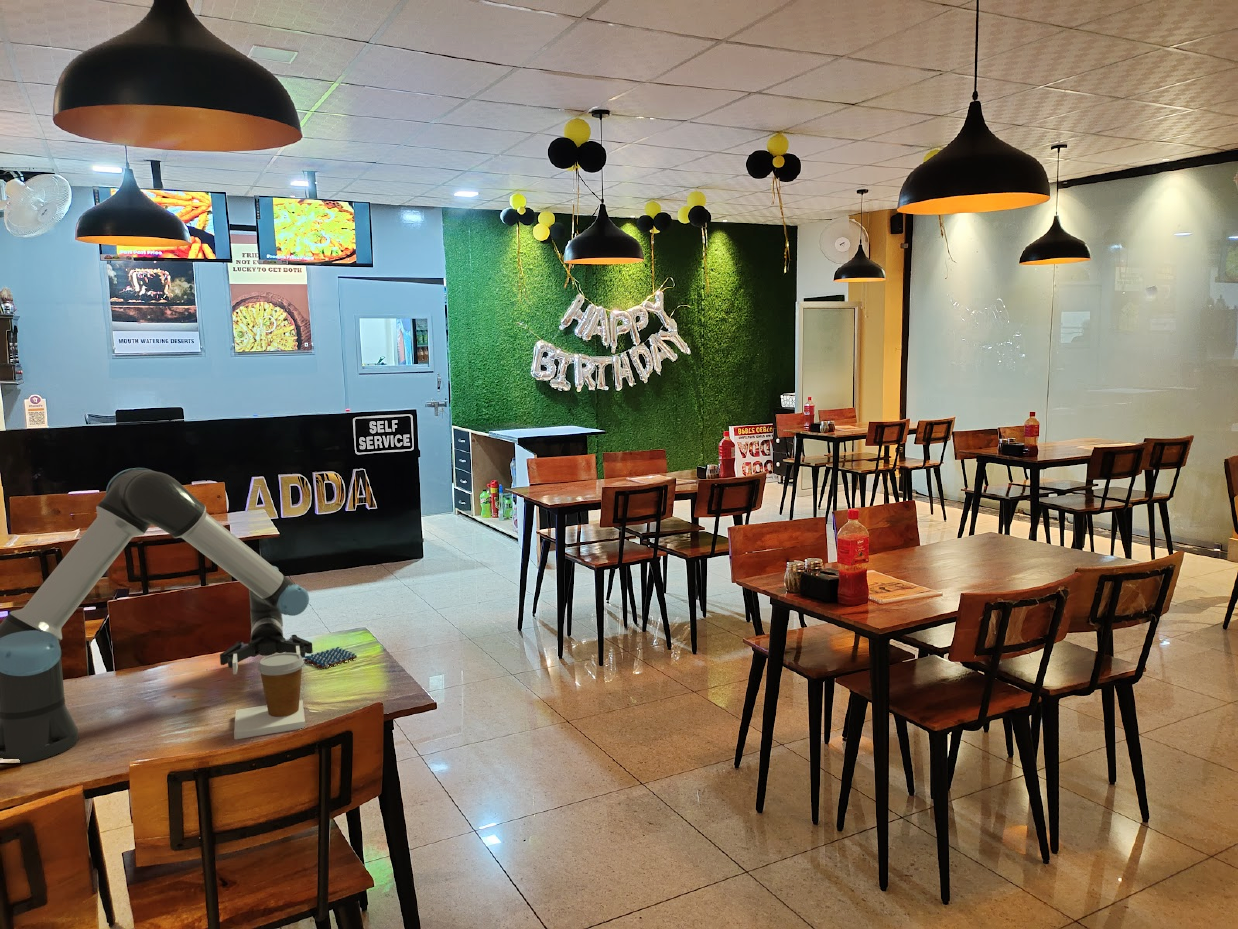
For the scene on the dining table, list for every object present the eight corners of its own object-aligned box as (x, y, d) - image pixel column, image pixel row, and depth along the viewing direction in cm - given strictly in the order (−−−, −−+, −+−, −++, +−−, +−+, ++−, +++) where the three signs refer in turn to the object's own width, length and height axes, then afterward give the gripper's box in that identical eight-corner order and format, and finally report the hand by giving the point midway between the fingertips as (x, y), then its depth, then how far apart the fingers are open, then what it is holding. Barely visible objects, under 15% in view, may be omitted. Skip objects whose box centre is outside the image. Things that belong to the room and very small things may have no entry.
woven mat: (301, 663, 228) (301, 656, 228) (338, 653, 236) (337, 645, 236) (321, 672, 221) (321, 665, 221) (358, 661, 229) (358, 654, 229)
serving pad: (234, 739, 181) (234, 732, 181) (236, 716, 193) (235, 710, 193) (305, 728, 186) (305, 721, 186) (302, 706, 198) (302, 699, 198)
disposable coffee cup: (294, 720, 186) (290, 667, 185) (252, 719, 187) (248, 666, 186) (314, 703, 196) (311, 652, 194) (274, 702, 197) (271, 651, 195)
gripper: (320, 644, 222) (325, 671, 202) (213, 658, 213) (208, 688, 193) (318, 616, 221) (323, 640, 201) (211, 629, 212) (205, 656, 192)
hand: (267, 664), depth 197 cm, fingers open, 13 cm apart
